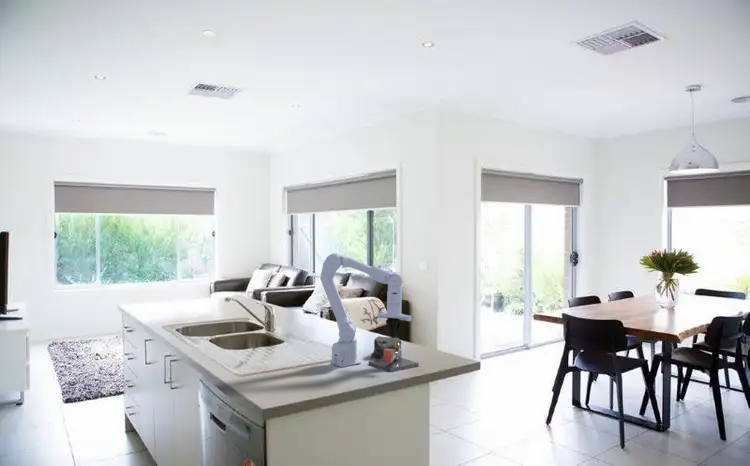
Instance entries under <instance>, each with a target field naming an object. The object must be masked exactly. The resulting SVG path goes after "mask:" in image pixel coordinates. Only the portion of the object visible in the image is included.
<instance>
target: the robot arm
mask: <svg viewBox="0 0 750 466" xmlns="http://www.w3.org/2000/svg"><path fill="white" fill-rule="evenodd" d="M340 267H341V268H342V269H344V268H352V269H355V270H357V271H359V272H362V273H364V274H367V275H368V276H369V278H370V279H371V280H374V281H376V282H379V283H380V284H384V285H386V284H387V291H386V294H387V295H386V296H387V297H386V300H387V301H386V312H377V318H379V319H386V320H385V323H386V325H387V327H388V331H389V333H390V337H391V338H398V333H399V330H400V327H401V325H402V323H403V321H406V322H412V315H409V314H404V313H402V299H403V298H402V285H403V280H402V277H401V275H400V274H399V273H397V272H394V271H393V270H391V269H390V270H388V269H387V268H384V267H382V265H380V264H378V265H376V264H374V265H372V266H371V265H369V264H365V262H361V261H359V260H357V259H354V258H353V257H350V256H348V255H343V254H339V253H337V252H334V253H331V254H330V255H328V256H326V258H325V260H324V261H323V263H322V269H321V273H320V277H319V280H320V281H321V284H322V287H323V289H324V293H325V295H326V298H327V300H328V302H329V304H330V307H331V310H332V313H333V315H334V317H335V320H336V323H337V328H338V331H339V332H338V337H339V338H338V340H337V342H334V343H333V344H332V346H331V362H330V364H333V365H334V366H335V365H336V366H338V367H341V368H343V367H349V366H354V365H359V364H361V363H362V362H361V361H359V360H357V359H358V358H357V357H358V356H357V351H358V350H357V338H356V337H355V336H356V330H357V328H356V325H355V324H354V323H353V322H352V321H351V320H350V317H349V315H348V314H347V310H346V309H345V305H344V303H343V301H342V298H341V296H340V293H339V291H338V288H337V286H336V282H335V281H334V277H335V275H336V273H337V271H338V270H339V269H340Z"/></svg>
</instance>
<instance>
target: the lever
mask: <svg viewBox="0 0 750 466" xmlns="http://www.w3.org/2000/svg"><path fill="white" fill-rule="evenodd" d="M383 358H384V363H392V362H393V360H394V359H398V351H393V349H384V357H383Z"/></svg>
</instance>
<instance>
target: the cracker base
mask: <svg viewBox="0 0 750 466" xmlns="http://www.w3.org/2000/svg"><path fill="white" fill-rule="evenodd" d="M400 348H401V349H400ZM399 349H400V350H399ZM393 351H398V359H394V360H393V362H392V363H384V357H382V358H380V359H372V360H368V365H370V366H373V367H375V368H378V369H381V370H383V371H387V372H390V373H392V372H396V371H402V370H406V369H407V370H408V369H411V368H412V369H413V368H416V367H420V366H419V362H416V361H413V360H410V359H407V358H404V357H402V351H403V350H402V344H401V345H400V344H399V343H396V344H395V345H394V350H393Z"/></svg>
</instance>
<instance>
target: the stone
mask: <svg viewBox="0 0 750 466" xmlns="http://www.w3.org/2000/svg"><path fill="white" fill-rule="evenodd" d="M396 343H399V344H400V345H401V346H402V340H401V339H400V338H399V337H396V338H391V336H389V337H387V336H379V335H378V336H377V337H375V338H374V340H373V344H374V345H373V352H372V353H371V354H370V358H371V359H372V360H377V359H383V358H384V349H393V350H394V345H395V344H396ZM399 350H402V347H401V348H400V349H399Z"/></svg>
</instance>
